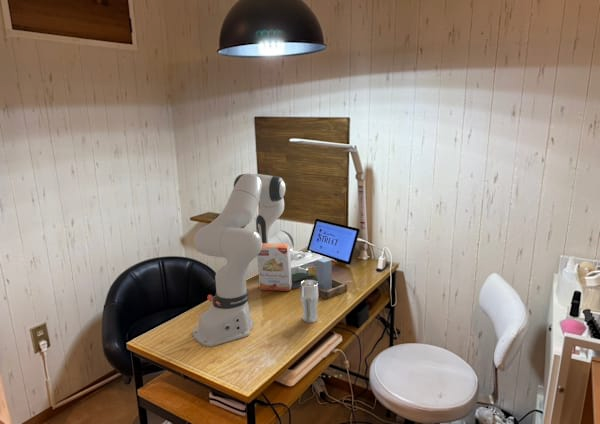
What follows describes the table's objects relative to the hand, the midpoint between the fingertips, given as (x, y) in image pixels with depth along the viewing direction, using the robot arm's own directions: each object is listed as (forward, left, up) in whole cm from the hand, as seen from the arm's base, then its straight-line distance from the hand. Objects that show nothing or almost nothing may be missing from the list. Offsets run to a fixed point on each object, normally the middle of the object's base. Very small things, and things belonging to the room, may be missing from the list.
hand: (314, 268), depth 188 cm
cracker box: (-16, +9, -8) cm, 20 cm away
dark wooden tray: (0, -7, -8) cm, 10 cm away
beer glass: (-22, -22, -8) cm, 32 cm away
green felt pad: (0, +14, -8) cm, 17 cm away
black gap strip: (-3, +5, -8) cm, 10 cm away
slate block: (0, -7, -8) cm, 10 cm away
